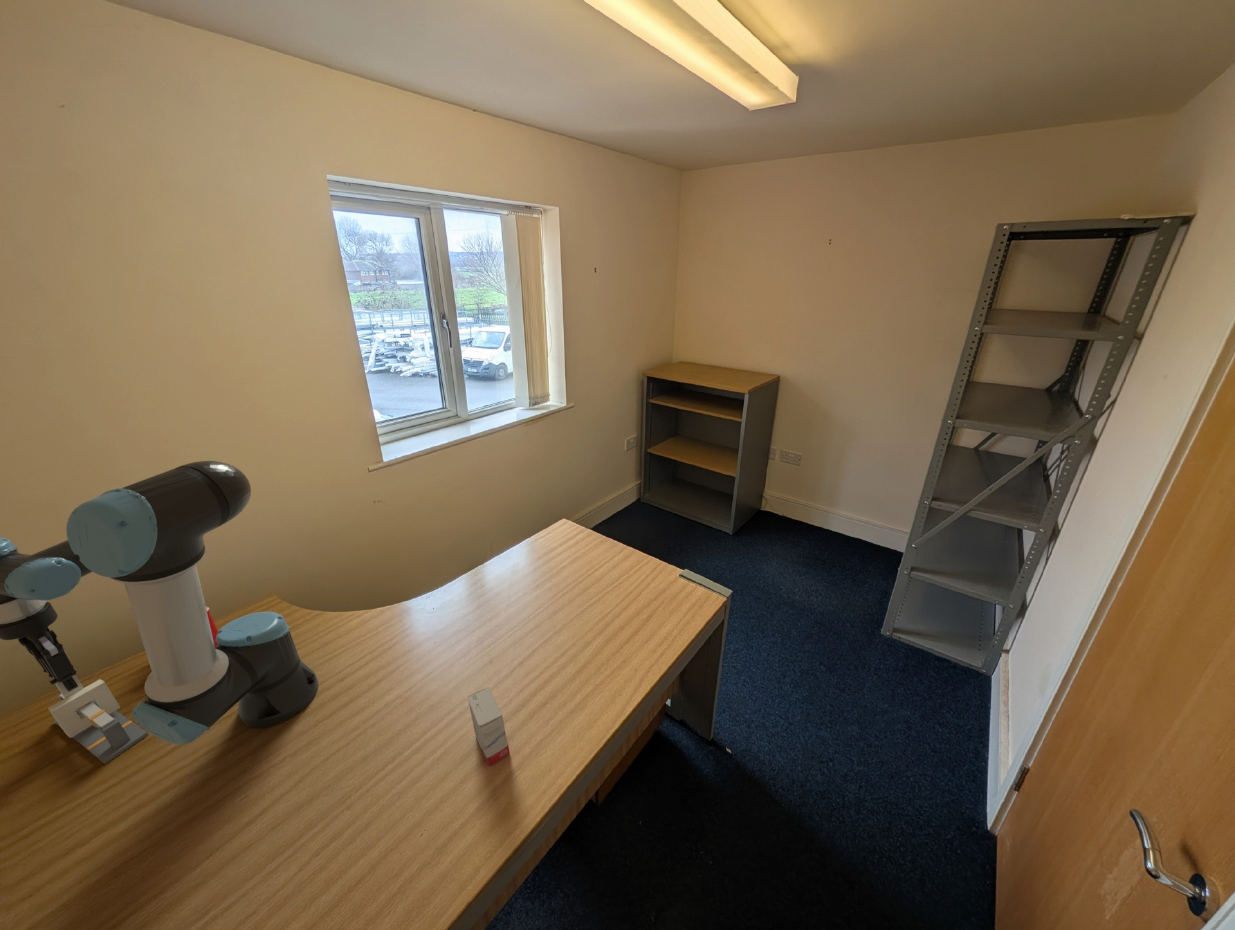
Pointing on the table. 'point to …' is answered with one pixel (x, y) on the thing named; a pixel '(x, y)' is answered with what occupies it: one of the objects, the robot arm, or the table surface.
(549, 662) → the table surface
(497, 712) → the ink box
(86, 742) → the grey slide rail
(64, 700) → the thick cream end plate
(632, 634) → the table surface
